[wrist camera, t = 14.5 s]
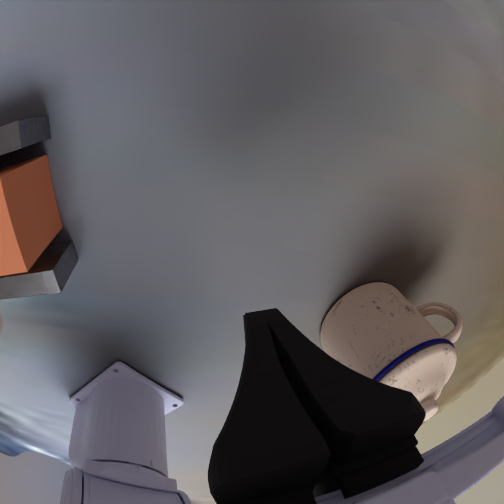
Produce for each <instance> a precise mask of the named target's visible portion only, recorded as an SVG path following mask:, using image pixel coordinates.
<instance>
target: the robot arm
mask: <svg viewBox="0 0 504 504" xmlns="http://www.w3.org/2000/svg"><path fill="white" fill-rule="evenodd" d="M243 318H244V331H245V343H246V346H245V355H244V362H243V368H242V373H241V377H240V381H239V385H238V389H237V392H236V395H235V398H234V401H233V404H232V407H231V409H230V412H229V414H228V416H227V419H226V421H225V424H224V426H223V428H222V430H221V432H220V434H219V436H218V438H217V440H216V441H215V443H214V445H213V450H212V454H211V458H210V463H209V469H208V482H209V488H210V493H211V495H212V496H213V498H214V500H215V502H216V503H217V504H456V503H455V501H454V499H455V498H456V497H458V496H459V495H461V494H462V493H463V492H465V491H466V490H468V489H469V488H470V487H472V486H473V485H474V484H476V483H477V482H479V481H480V480H481V479H482V478H484V477H485V476H486V475H488V474H489V473H490V472H491V471H492V470H494V469H495V468H496V467H497V466H499V465H500V464H501V463H502V462H503V461H504V397H503V398H502V399H500V400H499V401H498V402H497V404H496V405H495V406H494V408H493V409H492V411H491V412H489V413H488V414H487V415H485V416H484V417H482V418H481V419H479V420H478V421H477V422H475V423H474V424H472V425H471V426H469V427H468V428H466V429H465V430H463V431H461V432H460V433H458V434H457V435H455V436H453V437H452V438H450V439H449V440H447V441H445V442H443V443H442V444H440V445H438V446H436V447H434V448H433V449H431V450H429V451H427V452H425V453H423V454H420V453H419V451H418V449H417V448H416V445H417V444H418V441H417V439H416V438H415V436H414V434H415V433H416V432H417V430H418V429H419V427H420V426H421V424H422V423H423V421H424V419H425V416H426V411H425V410H424V408H423V407H422V405H421V404H420V402H419V401H418V399H417V398H416V397H415V396H414V395H413V393H412V392H409V391H406V390H402V389H399V388H395V387H392V386H389V385H386V384H383V383H381V382H378V381H376V380H373V379H371V378H369V377H366V376H364V375H362V374H360V373H358V372H356V371H354V370H352V369H350V368H348V367H347V366H345V365H343V364H342V363H340V362H339V361H337V360H335V359H334V358H332V357H331V356H329V355H328V354H327V353H325V352H324V351H323V350H321V349H320V348H319V347H317V346H316V345H315V344H314V343H312V342H311V341H310V340H309V339H308V338H307V337H306V336H304V335H303V334H302V333H301V332H300V331H299V330H298V329H297V328H296V327H295V326H294V325H293V324H292V323H291V322H290V321H289V320H288V319H287V318H286V317H285V316H284V315H283V314H282V313H281V312H280V311H279V310H278V309H276V308H274V309H268V310H262V311H256V312H250V313H246V314H245V315H244V316H243ZM116 369H117V370H116ZM69 403H70V404H71V405H73V406H74V407H76V411H75V416H74V421H73V427H72V433H71V439H70V446H69V459H70V463H71V465H72V468H71V469H69V470H67V471H66V472H65V476H64V480H63V486H62V493H61V503H60V504H193V503H192V502H191V500H190V499H189V497H188V496H187V495H186V494H185V493H184V492H183V491H180V490H177V483H176V480H175V479H170V478H168V468H167V453H166V434H165V415H166V414H168V413H170V412H171V411H173V410H175V409H177V408H178V407H180V406H182V405H183V404H184V401H183V399H182V398H180V397H178V396H176V395H175V394H173V393H171V392H169V391H168V390H166V389H164V388H162V387H161V386H159V385H157V384H156V383H154V382H152V381H151V380H149V379H147V378H146V377H144V376H143V375H141V374H139V373H138V372H136V371H135V370H133V369H132V368H130V367H128V366H127V365H125V364H124V363H122V362H115V363H114V364H113V365H112V366H110V367H109V368H108V369H106V370H105V371H104V372H103V373H101V374H100V375H99V376H98V377H96V378H95V379H94V380H92V381H91V382H90V383H89V384H87V385H86V386H85V387H84V388H82V389H81V390H80V391H79V392H77V393H76V394H75V395H73V396H72V397H71V398H70V399H69Z"/></svg>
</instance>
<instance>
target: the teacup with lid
mask: <svg viewBox="0 0 504 504" xmlns="http://www.w3.org/2000/svg"><path fill="white" fill-rule="evenodd" d="M432 314H436V315H441V316H444V317H446V318H448V319H449V320H451V321H452V322H453V324H454V325H455V327H454V329H453V330H452V331H451V332H450V333H448V334H447V335H445V336H444V337H442V336H441V335H440V334H439V333H438V332H437V331H436V330H435V328H434V327H433V326H432V325H431V324H430V323H429V322H428V321H427V320H426V319H425V318H424V316H427V315H432ZM462 325H463V322H462V318H461V316H460V314H459V313H458V312H457V311H456V310H455V309H454V308H452V307H451V306H448V305H446V304H443V303H436V302H432V303H426V304H423V305H421V306H419V307H417V308H415V307H414V306H413V305H412V304H411V303H410V302H409V301H408V300H407V299H406V298H405V297H404V296H403V295H402V294H401V293H400V292H399V291H398V290H397V289H396V288H395V287H394V286H392V285H390V284H387V283H383V282H374V283H368V284H365V285H362V286H359V287H357V288H355V289H353V290H351V291H350V292H348V293H347V294H345V295H344V296H343V297H342V298H341V299H339V300H338V301H337V302H336V303H335V304H334V306H333V307H332V308H331V309H330V311H329V312H328V314H327V315H326V317H325V319H324V321H323V324H322V327H321V332H320V339H321V344H322V346H323V348H324V350H325V352H326V353H327V354H328V355H329V356H331V357H332V358H334V359H335V360H337V361H339V362H340V363H342V364H343V365H345V366H347V367H348V368H350V369H352V370H354V371H356V372H358V373H360V374H362V375H364V376H366V377H369V378H371V379H373V380H376V381H378V382H381V383H383V384H386V385H389V386H392V387H395V388H399V389H402V390H406V391H409V392H412V393H413V395H414V396H415V397H416V398H417V399H418V401H419V402H420V404H421V405H422V407H423V408H424V410H425V411H426V416H425V419H424V421H426V420H428V419H429V418H431V417H432V416H433V415H434V414H435V413H436V412H437V410H438V407H439V405H438V403H437V401H436V399H437V398H438V396H439V395H440V393H441V391H442V389H443V387H444V385H445V384H446V383H447V381H448V380H449V378H450V377H451V375H452V373H453V371H454V368H455V365H456V360H457V356H456V351H455V348H454V345H453V343H454V342H455V341H456V340H457V339H458V338H459V336H460V334H461V331H462ZM424 421H423V422H424Z"/></svg>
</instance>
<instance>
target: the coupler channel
mask: <svg viewBox="0 0 504 504" xmlns="http://www.w3.org/2000/svg"><path fill="white" fill-rule="evenodd" d="M50 138H51V135H50V127H49V119H48V115H47V116H40V117H34V118H28V119H22V120H17V121H14V122H12V123H9V124H6V125H4V126H1V127H0V155H3V154H6V153H9V152H12V151H15V150H18V149H21V148H24V147H26V146H29V145H32V144H35V143H38V142H41V141H44V140H47V139H50ZM77 262H78V258H77V255H76V251H75V248H74V244H73V241H68V242H62V243H57V244H51V245H48V246H47V247H46V248H45V250H44V251H43V252H42V254H41V255H40V256H39V257H38V259H37V260H36V261H35V263H34V264H33V265H32V267H31V268H30V269H29V271H28V272H23V273H17V274H10V275H4V276H0V299H8V298H17V297H26V296H35V295H44V294H53V293H61V291H62V289H63V288H64V286H65V284H66V282H67V280H68V278H69V276H70V274H71V273H72V271H73V269H74V267H75V265H76V264H77Z"/></svg>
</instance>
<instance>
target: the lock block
mask: <svg viewBox="0 0 504 504" xmlns="http://www.w3.org/2000/svg"><path fill="white" fill-rule="evenodd" d="M62 228H63V226H62V223H61V219H60V215H59V211H58V207H57V202H56V198H55V193H54V189H53V184H52V179H51V174H50V169H49V163H48V157H47V155H43V156H40V157H36V158H33V159H30V160H26V161H23V162H20V163H17V164H13V165H10V166H7V167H4V168H1V169H0V276H4V275H10V274H17V273H23V272H28V271H29V269H30V268H31V267H32V265H33V264H34V263H35V261H36V260H37V259H38V257H39V256H40V255H41V254H42V252H43V251H44V250H45V248H46V247H47V246H48V245H49V243H50V242H51V241H52V240H53V239H54V237H55V236H56V235H57V234H58V232H59V231H60V230H61V229H62Z"/></svg>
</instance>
